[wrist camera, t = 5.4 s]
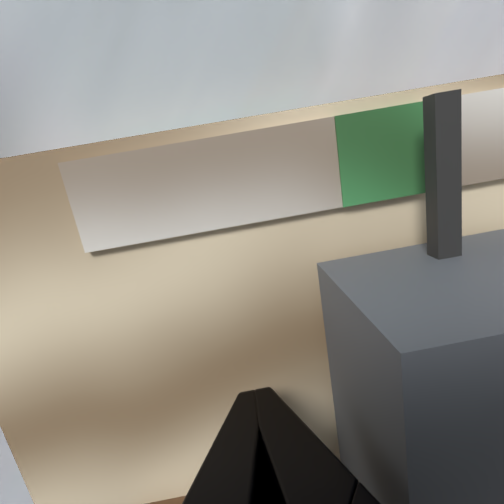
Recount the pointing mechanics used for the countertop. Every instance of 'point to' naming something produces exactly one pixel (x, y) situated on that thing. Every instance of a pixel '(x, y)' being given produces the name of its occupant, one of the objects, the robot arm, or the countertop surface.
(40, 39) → the countertop surface
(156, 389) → the bench
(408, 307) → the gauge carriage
